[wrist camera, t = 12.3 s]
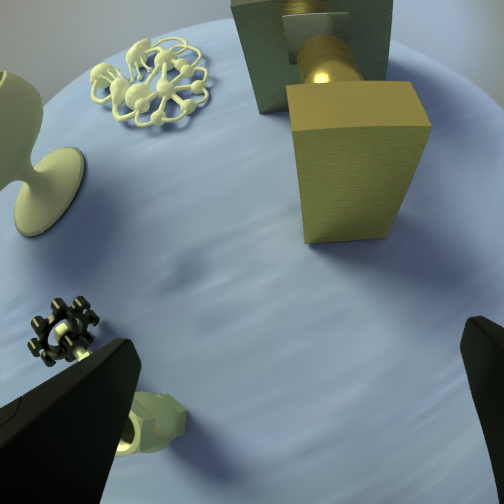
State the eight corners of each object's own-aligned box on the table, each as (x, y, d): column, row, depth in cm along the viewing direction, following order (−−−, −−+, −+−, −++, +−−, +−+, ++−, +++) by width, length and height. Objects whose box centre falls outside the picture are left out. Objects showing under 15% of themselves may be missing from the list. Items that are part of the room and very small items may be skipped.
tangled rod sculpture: (248, 93, 32) (243, 64, 28) (134, 162, 30) (117, 135, 26) (172, 44, 39) (165, 23, 35) (88, 92, 37) (76, 72, 33)
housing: (381, 105, 26) (393, -2, 15) (259, 113, 28) (230, 6, 17) (358, 51, 30) (357, -37, 19) (257, 58, 32) (234, -28, 21)
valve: (213, 403, 20) (106, 305, 24) (174, 413, 14) (53, 283, 18) (163, 464, 19) (68, 362, 23) (115, 487, 13) (13, 353, 17)
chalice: (102, 128, 33) (34, 40, 19) (80, 232, 28) (-32, 146, 14) (27, 162, 35) (-39, 100, 21) (3, 254, 30) (-88, 199, 16)
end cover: (386, 237, 22) (432, 126, 11) (304, 244, 23) (291, 131, 12) (359, 125, 26) (366, 11, 15) (293, 129, 27) (274, 15, 16)
